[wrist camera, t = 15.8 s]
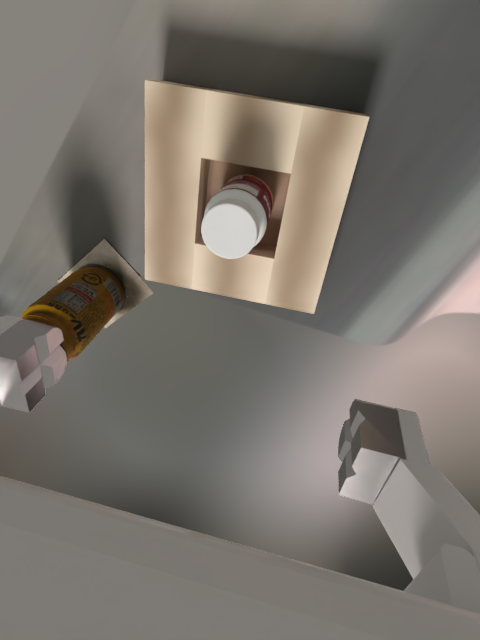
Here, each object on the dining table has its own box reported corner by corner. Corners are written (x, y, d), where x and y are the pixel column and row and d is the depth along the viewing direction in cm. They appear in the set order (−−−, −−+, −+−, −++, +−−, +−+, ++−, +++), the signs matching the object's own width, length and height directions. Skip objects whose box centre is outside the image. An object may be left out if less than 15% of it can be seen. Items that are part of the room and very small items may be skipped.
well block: (363, 113, 29) (369, 117, 26) (314, 294, 38) (313, 313, 35) (162, 80, 31) (144, 79, 27) (159, 263, 39) (145, 279, 36)
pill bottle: (268, 232, 35) (256, 270, 28) (217, 222, 35) (192, 257, 28) (279, 178, 32) (268, 204, 25) (223, 168, 32) (198, 191, 25)
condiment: (58, 280, 43) (-23, 341, 32) (105, 237, 39) (30, 292, 29) (106, 327, 45) (45, 398, 35) (154, 291, 41) (101, 359, 31)
